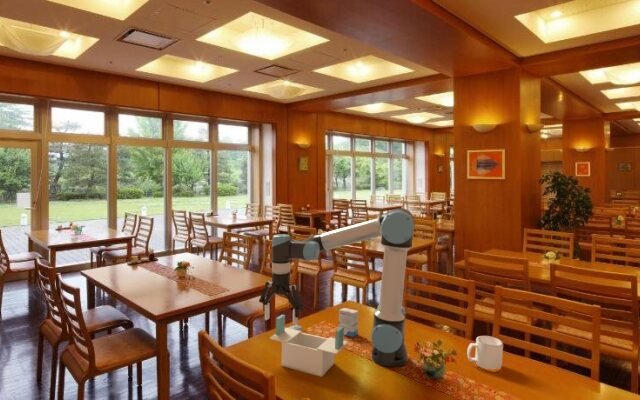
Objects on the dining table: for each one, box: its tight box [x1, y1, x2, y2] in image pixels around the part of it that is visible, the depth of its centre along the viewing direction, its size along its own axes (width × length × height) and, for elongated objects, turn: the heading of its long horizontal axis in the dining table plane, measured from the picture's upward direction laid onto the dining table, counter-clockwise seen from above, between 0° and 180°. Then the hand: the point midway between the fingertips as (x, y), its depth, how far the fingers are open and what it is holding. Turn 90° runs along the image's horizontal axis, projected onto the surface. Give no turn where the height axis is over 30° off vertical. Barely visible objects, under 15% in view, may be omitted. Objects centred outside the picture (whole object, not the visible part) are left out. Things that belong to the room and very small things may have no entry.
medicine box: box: [287, 324, 303, 333], centre depth 177 cm, size 8×4×9 cm, turn 141°
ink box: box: [338, 307, 359, 338], centre depth 193 cm, size 9×5×12 cm, turn 58°
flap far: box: [269, 314, 301, 343], centre depth 164 cm, size 8×12×8 cm
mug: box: [466, 335, 504, 370], centre depth 163 cm, size 14×10×11 cm
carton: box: [280, 332, 336, 378], centre depth 161 cm, size 18×12×10 cm, turn 65°
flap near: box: [317, 326, 349, 356], centre depth 155 cm, size 8×12×8 cm
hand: (280, 322), depth 166 cm, fingers open, 13 cm apart
